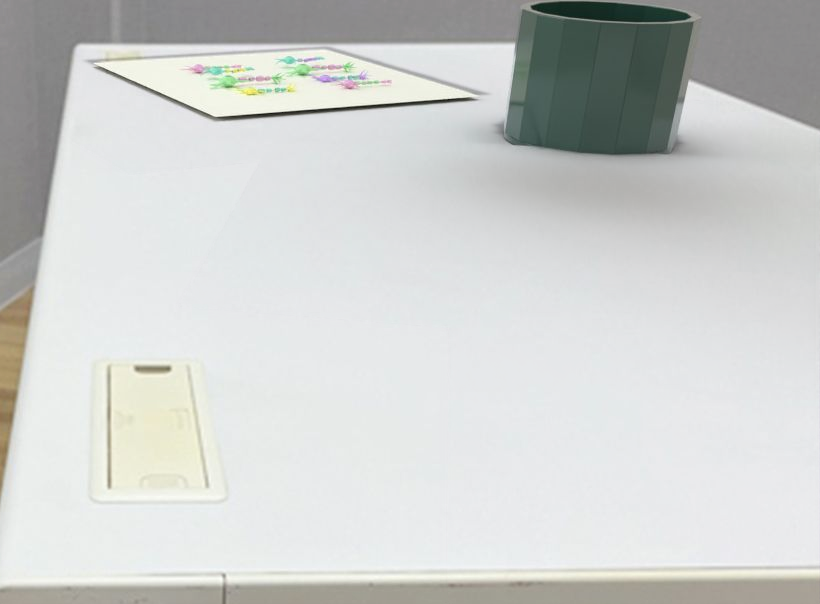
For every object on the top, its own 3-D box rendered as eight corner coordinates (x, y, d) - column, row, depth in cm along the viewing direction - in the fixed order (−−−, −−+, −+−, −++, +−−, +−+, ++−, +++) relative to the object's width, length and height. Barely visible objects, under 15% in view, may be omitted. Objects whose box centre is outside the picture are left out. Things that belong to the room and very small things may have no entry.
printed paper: (215, 120, 110) (215, 103, 109) (92, 66, 132) (92, 51, 131) (479, 99, 122) (481, 84, 121) (326, 53, 144) (327, 39, 143)
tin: (659, 128, 112) (684, 4, 106) (684, 165, 100) (715, 27, 94) (500, 119, 114) (517, -4, 108) (506, 154, 102) (526, 18, 96)
